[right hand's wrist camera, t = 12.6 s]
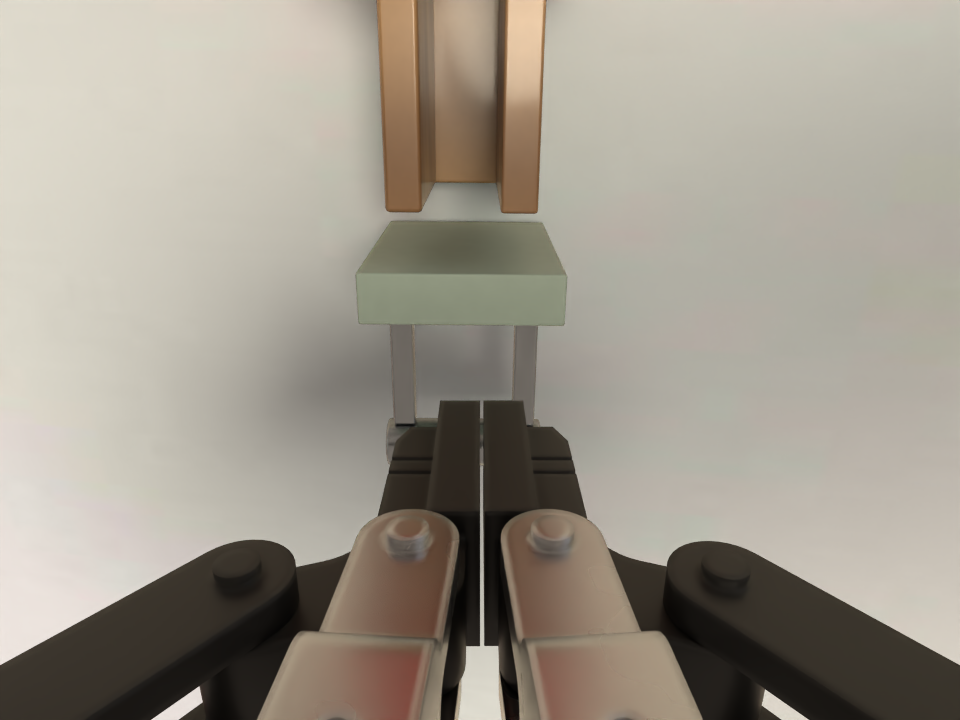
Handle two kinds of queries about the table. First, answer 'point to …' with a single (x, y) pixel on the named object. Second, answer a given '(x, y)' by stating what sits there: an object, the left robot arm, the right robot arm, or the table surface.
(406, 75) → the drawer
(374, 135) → the table surface
